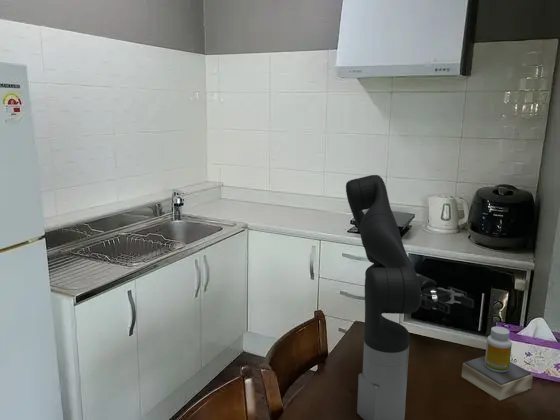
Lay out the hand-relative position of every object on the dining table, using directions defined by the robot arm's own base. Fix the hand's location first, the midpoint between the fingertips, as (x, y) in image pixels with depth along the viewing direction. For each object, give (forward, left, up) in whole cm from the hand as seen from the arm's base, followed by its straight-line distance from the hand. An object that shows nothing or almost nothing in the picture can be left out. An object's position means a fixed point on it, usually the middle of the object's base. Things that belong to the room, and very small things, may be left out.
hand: (461, 307), depth 118 cm
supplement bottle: (+1, -11, -11) cm, 16 cm away
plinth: (+1, -11, -15) cm, 19 cm away
